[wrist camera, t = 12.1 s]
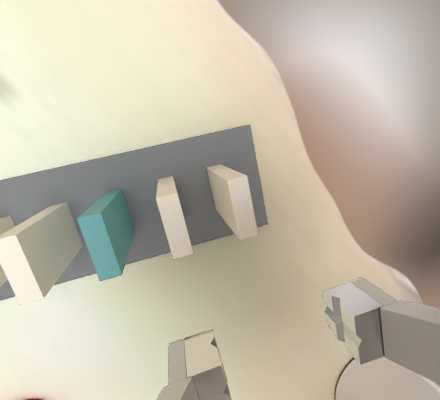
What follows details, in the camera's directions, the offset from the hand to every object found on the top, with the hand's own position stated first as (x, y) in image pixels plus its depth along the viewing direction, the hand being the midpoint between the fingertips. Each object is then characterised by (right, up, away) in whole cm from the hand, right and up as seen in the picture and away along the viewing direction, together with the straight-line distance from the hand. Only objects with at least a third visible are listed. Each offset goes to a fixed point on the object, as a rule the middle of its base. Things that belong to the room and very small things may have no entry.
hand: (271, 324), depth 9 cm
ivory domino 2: (-7, +4, +20) cm, 22 cm away
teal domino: (-13, +3, +20) cm, 23 cm away
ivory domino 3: (-2, +6, +21) cm, 22 cm away
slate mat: (-13, +3, +20) cm, 24 cm away
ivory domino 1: (-18, +2, +19) cm, 26 cm away
